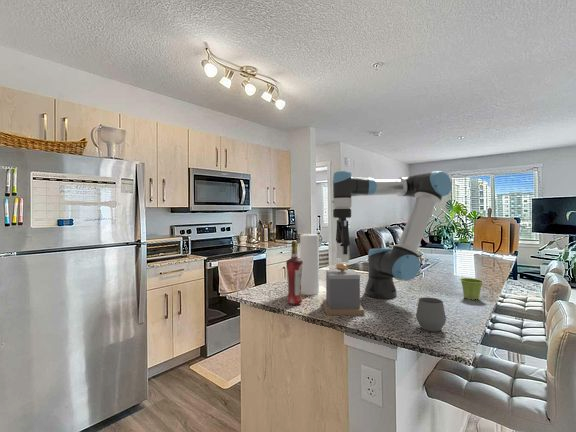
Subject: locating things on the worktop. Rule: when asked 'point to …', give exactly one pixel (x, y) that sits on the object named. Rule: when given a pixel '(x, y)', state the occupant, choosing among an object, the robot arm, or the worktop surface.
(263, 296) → the worktop surface
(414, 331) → the worktop surface
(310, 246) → the cylinder container
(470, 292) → the plant pot
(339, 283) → the press
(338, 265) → the plunger
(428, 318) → the cup
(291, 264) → the liquor
